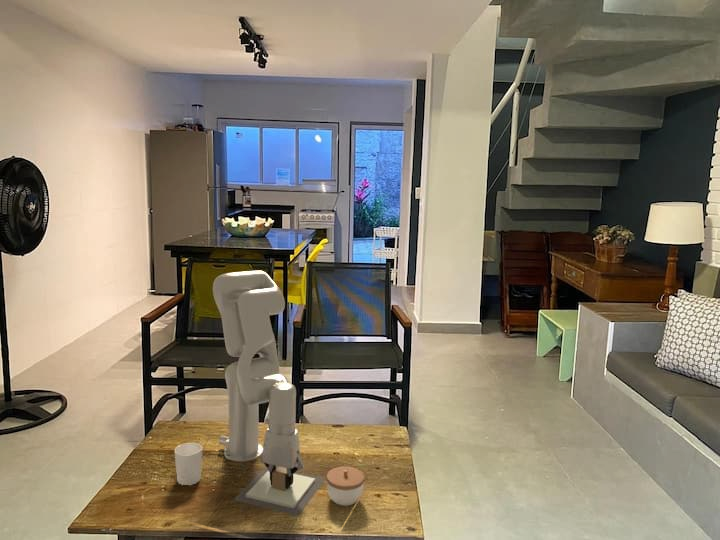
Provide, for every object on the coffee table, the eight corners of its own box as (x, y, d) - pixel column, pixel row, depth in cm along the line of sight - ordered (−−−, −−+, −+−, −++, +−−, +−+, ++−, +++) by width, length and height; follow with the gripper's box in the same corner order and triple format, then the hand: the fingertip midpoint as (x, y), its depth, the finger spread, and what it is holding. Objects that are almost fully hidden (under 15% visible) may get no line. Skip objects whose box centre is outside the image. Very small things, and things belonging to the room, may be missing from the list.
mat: (233, 501, 159) (233, 499, 159) (266, 467, 178) (266, 465, 178) (298, 517, 153) (298, 515, 153) (325, 480, 172) (325, 478, 172)
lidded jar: (359, 514, 155) (360, 483, 154) (321, 508, 158) (322, 477, 156) (366, 493, 166) (367, 463, 164) (331, 488, 168) (332, 458, 166)
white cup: (208, 477, 171) (207, 446, 170) (190, 489, 164) (189, 458, 162) (188, 470, 175) (187, 440, 173) (169, 482, 167) (168, 451, 166)
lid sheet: (245, 496, 161) (245, 478, 160) (270, 471, 175) (270, 453, 174) (293, 508, 156) (294, 489, 155) (315, 480, 170) (315, 463, 169)
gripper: (249, 426, 161) (249, 485, 164) (303, 436, 156) (302, 497, 159) (262, 415, 168) (261, 472, 171) (314, 425, 163) (312, 483, 166)
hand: (281, 483), depth 165 cm, fingers closed on lid sheet, 4 cm apart
